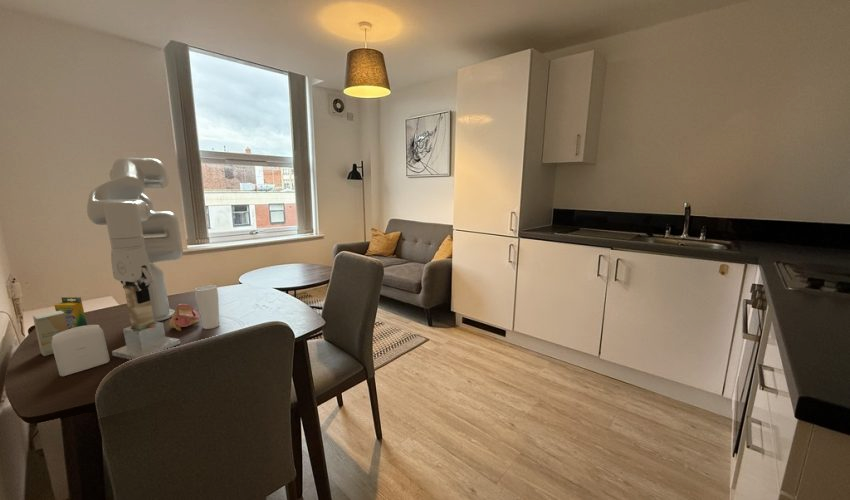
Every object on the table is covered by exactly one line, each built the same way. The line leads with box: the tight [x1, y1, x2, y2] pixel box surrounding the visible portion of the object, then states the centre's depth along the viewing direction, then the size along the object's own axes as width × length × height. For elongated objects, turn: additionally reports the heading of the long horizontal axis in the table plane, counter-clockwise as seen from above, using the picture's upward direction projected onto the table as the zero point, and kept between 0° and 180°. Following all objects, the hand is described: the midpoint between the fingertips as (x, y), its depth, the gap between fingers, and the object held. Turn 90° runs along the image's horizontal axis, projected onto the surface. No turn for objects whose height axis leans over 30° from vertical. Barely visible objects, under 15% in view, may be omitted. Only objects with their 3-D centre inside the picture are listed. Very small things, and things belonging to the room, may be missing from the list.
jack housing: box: [111, 321, 181, 361], centre depth 104 cm, size 12×12×8 cm
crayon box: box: [54, 296, 88, 329], centre depth 120 cm, size 7×3×12 cm, turn 90°
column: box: [123, 282, 155, 330], centre depth 102 cm, size 4×4×14 cm
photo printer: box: [52, 324, 111, 377], centre depth 94 cm, size 10×4×12 cm, turn 140°
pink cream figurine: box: [169, 303, 200, 331], centre depth 122 cm, size 9×10×10 cm
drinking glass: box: [194, 284, 221, 330], centre depth 120 cm, size 7×7×15 cm
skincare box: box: [32, 310, 68, 357], centre depth 104 cm, size 6×4×12 cm
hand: (138, 300), depth 102 cm, fingers closed on column, 4 cm apart
